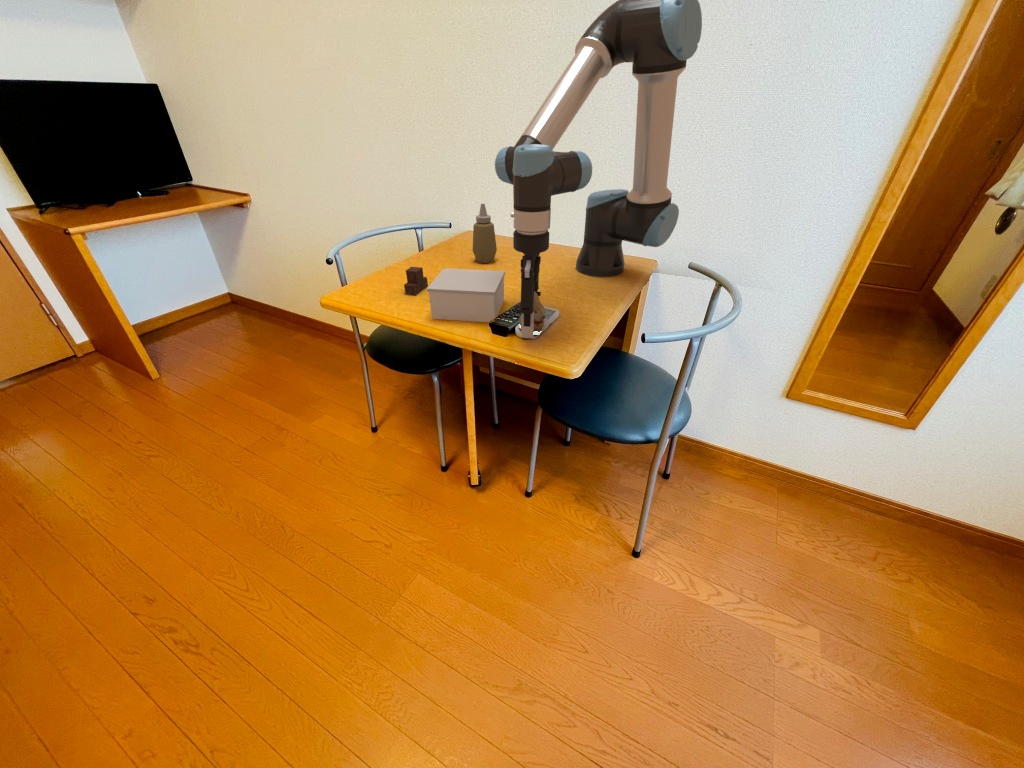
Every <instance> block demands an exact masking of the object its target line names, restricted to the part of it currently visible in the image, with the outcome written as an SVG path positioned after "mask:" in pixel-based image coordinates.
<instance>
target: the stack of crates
mask: <svg viewBox="0 0 1024 768" xmlns="http://www.w3.org/2000/svg"><path fill="white" fill-rule="evenodd" d="M405 275H406V276H405V277H406V283H404V285H403V287H404V295H408V294H409V295H408V296H417V294H418V295H419V294H420V293H422V292H423V291H424V290H425V289H427V288H428V287H429V285H428V277H427V276H424V271H423V267H419V266H410V267H408V268H407V269H406V270H405ZM421 291H422V292H421Z"/></svg>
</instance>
